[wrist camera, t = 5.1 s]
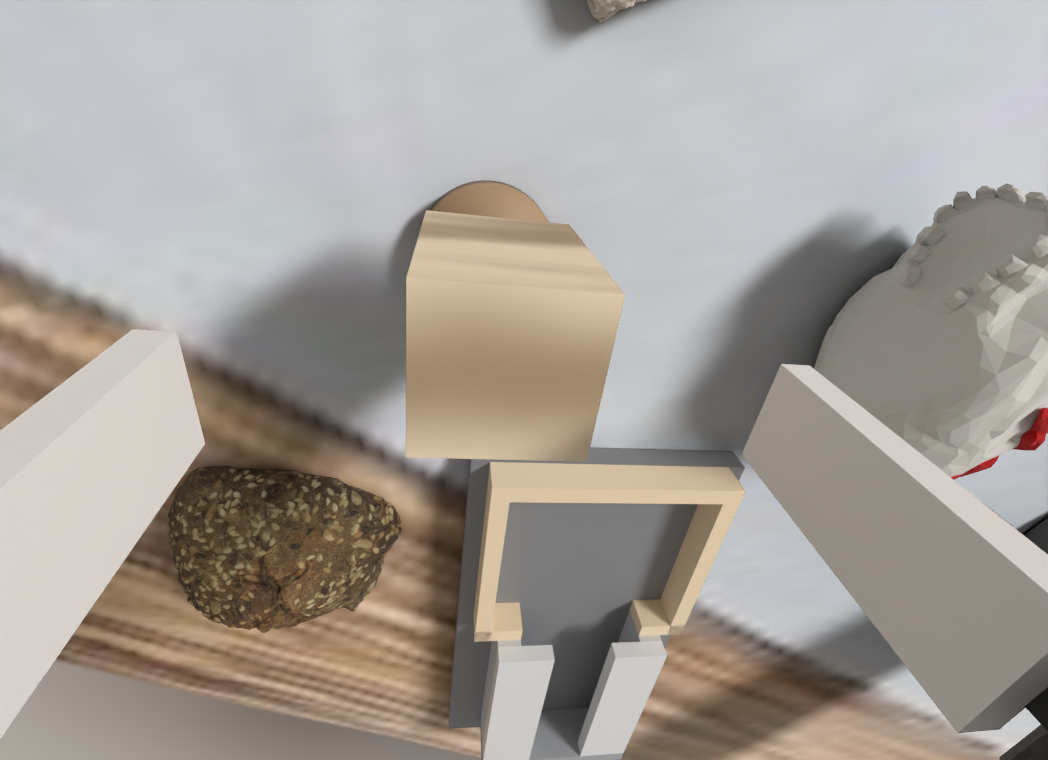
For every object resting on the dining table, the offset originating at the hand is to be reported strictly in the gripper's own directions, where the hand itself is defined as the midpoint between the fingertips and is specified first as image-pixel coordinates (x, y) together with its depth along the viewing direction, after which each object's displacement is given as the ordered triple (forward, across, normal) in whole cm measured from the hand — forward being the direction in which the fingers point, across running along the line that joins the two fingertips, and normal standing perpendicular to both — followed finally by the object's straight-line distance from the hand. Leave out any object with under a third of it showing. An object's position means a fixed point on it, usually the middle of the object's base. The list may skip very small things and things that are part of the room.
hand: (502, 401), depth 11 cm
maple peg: (+13, 0, 0) cm, 13 cm away
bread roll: (+13, +10, +19) cm, 26 cm away
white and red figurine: (+13, -22, +3) cm, 26 cm away
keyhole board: (+13, -8, +24) cm, 29 cm away
